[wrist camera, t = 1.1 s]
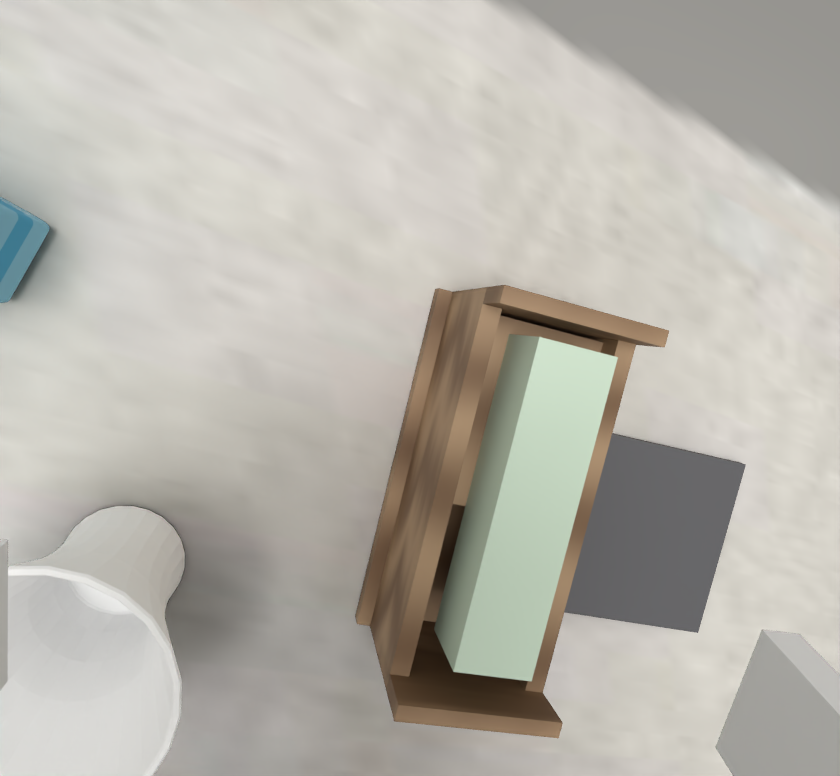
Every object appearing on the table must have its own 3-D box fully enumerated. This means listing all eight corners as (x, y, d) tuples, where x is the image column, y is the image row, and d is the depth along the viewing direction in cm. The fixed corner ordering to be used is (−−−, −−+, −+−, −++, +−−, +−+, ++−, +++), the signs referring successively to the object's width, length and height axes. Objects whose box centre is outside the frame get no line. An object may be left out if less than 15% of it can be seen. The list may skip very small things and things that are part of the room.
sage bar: (503, 639, 34) (531, 681, 30) (434, 629, 33) (453, 671, 29) (579, 352, 33) (618, 357, 29) (509, 334, 32) (539, 336, 28)
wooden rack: (505, 637, 40) (573, 739, 31) (355, 616, 38) (377, 719, 28) (585, 329, 39) (683, 334, 29) (435, 289, 37) (487, 280, 27)
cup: (104, 684, 36) (-5, 902, 22) (-23, 546, 33) (-226, 696, 20) (258, 574, 37) (240, 720, 24) (145, 432, 34) (55, 506, 21)
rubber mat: (692, 628, 43) (697, 632, 43) (535, 604, 41) (539, 608, 40) (739, 462, 42) (745, 464, 42) (582, 426, 40) (587, 428, 39)
